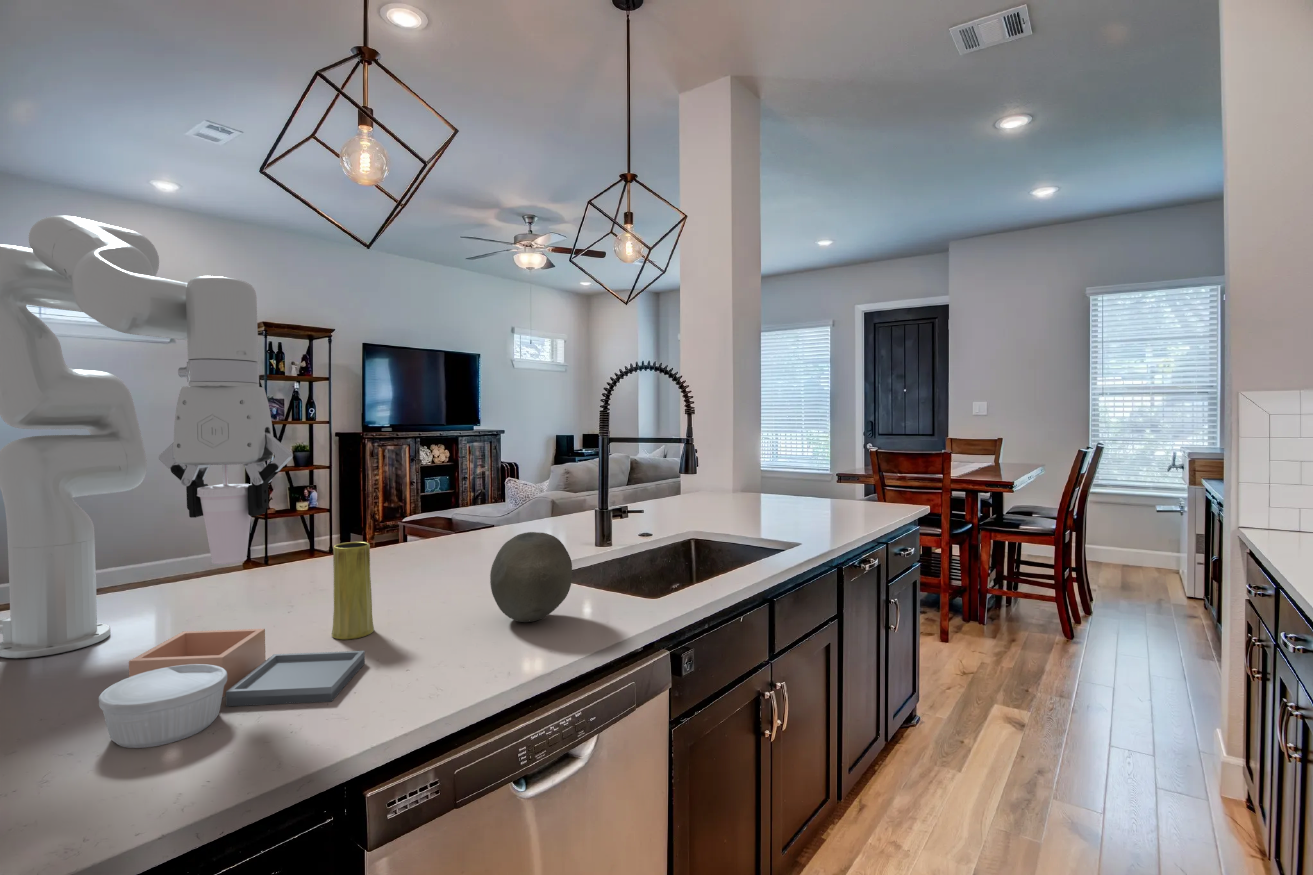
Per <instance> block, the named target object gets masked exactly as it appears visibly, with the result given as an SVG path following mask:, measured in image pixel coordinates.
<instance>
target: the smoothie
mask: <svg viewBox="0 0 1313 875" xmlns="http://www.w3.org/2000/svg"><path fill="white" fill-rule="evenodd" d="M221 466H222V468H221V469H222V483H221V484H214V485H208V486H205V487H200V488H198V489H197V496H198V497H200V499H201V505H202V511H203V520H204V525H205V530H206V537H207V541H208V546H209V547H208V548H209V553H210V557H211V563H212V564H214V565H227V564H228V565H229V564H235V563H240V562H244V561H246V560H247V559H248V557H247V556H248V548H249V540H250V530H251V520H252V516H250V515H248V490H247V488H248V486H249V485H252V483H250V484H249V483H229V473H228V472H229V469H228V468H229V467H228V466H229V465H221Z"/></svg>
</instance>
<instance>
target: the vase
mask: <svg viewBox="0 0 1313 875" xmlns="http://www.w3.org/2000/svg"><path fill="white" fill-rule="evenodd" d="M370 546H371V544H370V543H369V542H367V541H350V542H341V543H337V544H334V546H333V548H332V550H333V551H332V552H333V558H332V559H333V560H332V561H333V563H332V565H333V613H332V614H333V616H332V617H333V618H332V631H331V638H334V639H337V640H343V641H344V640H357V639H361V638H365V637H367V636H369V635H370V634H372V633H373V632H374V631H375V630H374V629H375V628H374V620H373V618H374V617H373V599H372V598H373V597H372V596H373V595H372V579H371V547H370Z"/></svg>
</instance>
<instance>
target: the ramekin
mask: <svg viewBox="0 0 1313 875" xmlns="http://www.w3.org/2000/svg"><path fill="white" fill-rule="evenodd" d="M226 682H227V671H226V670H225V669H223V668H222V667H219V666H215V665H208V664H188V665H179V666H171V667H165V668H160V669H156V670H152V671H147V672H144V673H140V674H137V675H134V676H131V677H129V676H128V677H127V678H124V679H121V680H120V681H117V682H115V683H113V684H112V685H110V686H108V687H107V688H106V689H104V690H102V692H101V693H100V695H99V696H98V707H99V709H100V710H101V711H102V713H103V717H104V721H105V725H106V729H107V732H108V735H109V738H110V739H111V740H112V742H114V743H116V745H118V746H119V747H123V748H128V749H129V748H130V749H142V748H152V747H159V746H164V745H168V744H171V743H175V742H178V741H181V740H184V739H186V738H189V737H190V738H191V737H192V736H194V735H196V734H198V733H200V732H202V731H203V730H205V729H207V728H208V727H209V726H211V724H212V723H213V722H214V721H215V719H217V718H218V715H219V712H220V710H221V704H222V699H223V697H222V695H223V689H224V685H225V684H226Z"/></svg>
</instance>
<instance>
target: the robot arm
mask: <svg viewBox="0 0 1313 875" xmlns="http://www.w3.org/2000/svg"><path fill="white" fill-rule="evenodd" d="M28 243H29V247H30V248H29V247H24V246H19V245H18V246H17V245H11V244H3V243H2V244H1V243H0V417H1V420H2V421H4V422H5V424H6V425H8V426H10V427H12V428H15V429H22V430H87V432H88V433H89V434H51V435H49V434H48V435H35V436H34V435H33V436H28V437H27V436H25V437H22V438H18V439H15V440H13V441H10V442H9V443H7V444H6V445H4V446H3V447H2V448H1V449H0V491H1V496H2V499H3V500H2V501H3V504H4V510H5V517H6V530H7V533H6V534H7V553H8V554H7V556H8V557H7V558H8V580H9V581H8V584H9V613H10V614H9V615H10V617H0V634H1V635H2V641H0V658H7V659H26V658H27V659H28V658H38V657H44V656H51V655H57V654H62V653H67V652H70V651H75V650H79V649H83V648H85V647H89V646H91V645H95V644H97V643H100V642H101V641H104V640H105V639H107V638H108V637H109V636H110V635H111V632H112V631H111V626H110V625H108V624H106V623H102V622H101V623H100V622H98V610H97V609H98V607H97V606H98V605H97V575H96V574H97V572H96V571H97V570H96V565H97V564H96V538H95V537H96V536H95V534H96V533H95V525H94V522H93V520H92V518H91V517H90V515H89V514H88V513H87V512H86V511H85V510H84V509H83V508H82V507H80V505H79V504H78V503H77V502H76V501H75V500H74V498H77V497H84V496H95V495H104V494H105V495H106V494H113V493H114V494H115V493H121V492H127V491H131V490H133V489H135V488H138V486H140V485H141V483H143V481H144V479H145V477H146V474H147V470H148V461H147V454H146V450H145V445H144V442H143V437H142V432H141V429H140V427H141V426H140V424H139V420H138V415H137V412H136V408H135V402H134V399H133V395H132V393H131V390H130V389H129V388H128V386H127V385H126V384H125V382H124V381H123V380H122V378H120V377H118V376H117V375H115V374H112V373H110V372H106V371H101V370H91V369H90V370H89V369H74V368H71V367H69V366H68V364H67V363H66V362H65V359H64V356H63V355H64V354H63V351H62V346H61V341H59V338H58V337H57V335H56V334H55V333H54V332H53V330H51V328H50V327H49V326H48V325H47V324H46V323H45V322H44V321H43V320H41V319H40V318H39V317H38V316H37V315H35V314H34V313H33V312H32V311H30V310H29V309H28V308H27V305H28V306H33V307H39V308H46V309H47V308H48V309H56V310H62V311H63V310H65V311H72V312H80V313H84V314H85V315H87V316H88V317H90V318H91V319H93V320H94V321H96V322H98V323H100V324H101V325H103V326H104V327H107V328H109V329H111V330H113V331H116V332H118V333H119V332H120V333H123V334H128V335H136V336H142V337H144V336H145V337H156V338H163V339H172V340H178V341H187V342H186V344H187V346H186V347H187V348H186V349H187V361H186V366H185V367H184V366H183V367H179V368H178V370H177V374H178V377H180V378H186V381H187V383H188V385H187V386H181V387H180V390H179V393H178V398H177V402H176V409H175V415H174V429H173V442H172V443H171V444H170V445H169V446H167V447H166V449H164V450H163V451H162V452H161V453H160V454H159V455H158V460H159V462H160V463H162V464H163V465H164V466H165V467H166V468H168V469H169V470H170V473H172V475H174V476H175V477H176V478H177V479H178V480H179V481H180V484H181V485H182V486H183V487H185V490H186V491H185V492H186V508H187V510H188V516H189V518H194V519H195V518H199V517H204V515H203V511H202V505H201V499H200V497H198V496H197V489H198V488H200V487H205V486H209V485H208V483H205V479H206V477H207V475H208V472H209V469H210V467H211V466H220V465H221V466H222V465H228V466H229V465H230V466H231V465H233V466H234V465H243V466H244V469H245V470H246V473H247V475H248V476H249V478H250V481H251V484H252V485H249V486H248V488H247V490H248V515H250V516H251V517H257V516H261V515H264V514H266V513H267V509H268V507H269V483H271V482H272V481H273V479H274V478H275V476H277V475H278V473H280V472H281V470H282V469H283V467H285V466H286V465H287V464H288V463H289V462H290V461H291V460H292V458H293V457H294V454H293V452H291V451H290V450H289V449H288V448H287V447H286V446H285V445H283V444H282V443H281V442H280V441H279V440H278V439H277V438H276V437H274V431H273V423H272V417H271V416H272V415H271V411H270V406H269V400H268V396H267V393H266V390H265V387H261V386H260V373H259V371H260V369H259V367H260V366H259V364H260V363H259V330H258V329H259V328H258V305H257V304H258V303H257V301H258V300H257V299H258V298H257V292H256V289H255V287H253V285H251V284H250V283H249V282H247V281H244V280H242V279H238V278H233V277H226V276H225V277H224V276H213V275H212V276H211V275H203V276H196V277H193V278H192V279H190V280H188V282H183V281H179V280H173V279H168V278H162V277H157V273H158V271H159V268H160V257H159V256H160V255H159V253H158V250H157V249H156V247H155V245H154V244H153V243H152V241H151V240H149V239H148V237H146V236H145V235H143V234H142V233H140V232H137V231H134V230H131V229H127V228H122V227H119V226H115V225H110V224H107V223H104V222H98V221H95V220H91V219H86V218H83V217H82V218H81V217H79V216H78V217H77V216H71V215H52V216H48V217H47V216H46V217H43V218H41V219H40V220H38V221H36V222H35V223H34V224H33V225H32V226H31V228H30V230H29V232H28ZM273 456H274V458H273ZM272 458H273V459H272ZM271 459H272V461H271V462H270V463H268V464H266V462H267V461H269V460H271Z"/></svg>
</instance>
